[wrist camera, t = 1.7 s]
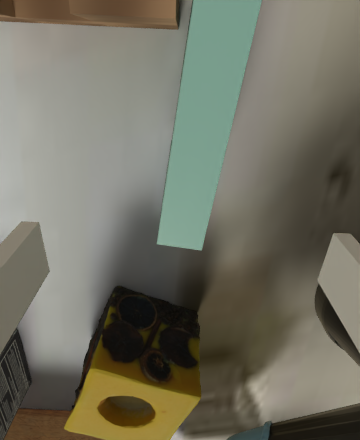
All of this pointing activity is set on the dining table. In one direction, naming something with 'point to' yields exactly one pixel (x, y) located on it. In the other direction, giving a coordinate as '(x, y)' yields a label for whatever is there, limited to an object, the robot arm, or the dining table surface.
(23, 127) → the dining table surface
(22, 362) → the small box
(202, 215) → the cross piece
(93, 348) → the candle
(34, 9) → the slotted stand
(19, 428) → the wooden box
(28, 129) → the dining table surface
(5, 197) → the dining table surface
